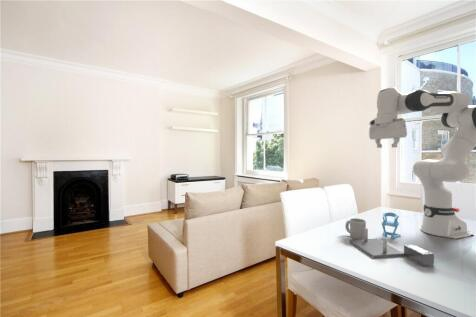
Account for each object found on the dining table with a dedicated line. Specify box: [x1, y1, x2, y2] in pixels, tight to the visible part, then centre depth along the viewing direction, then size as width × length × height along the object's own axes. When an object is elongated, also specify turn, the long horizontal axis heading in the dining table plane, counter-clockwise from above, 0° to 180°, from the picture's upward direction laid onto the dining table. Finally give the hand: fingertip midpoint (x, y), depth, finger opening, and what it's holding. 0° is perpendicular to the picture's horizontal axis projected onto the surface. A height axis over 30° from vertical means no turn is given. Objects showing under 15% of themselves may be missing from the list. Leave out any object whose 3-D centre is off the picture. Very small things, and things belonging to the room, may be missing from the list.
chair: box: [381, 212, 401, 240], centre depth 120 cm, size 8×8×12 cm
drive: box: [403, 244, 435, 268], centre depth 94 cm, size 4×9×5 cm, turn 6°
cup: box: [345, 217, 367, 240], centre depth 120 cm, size 7×10×9 cm
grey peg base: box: [349, 227, 404, 259], centre depth 106 cm, size 14×17×7 cm
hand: (386, 147), depth 119 cm, fingers open, 8 cm apart
